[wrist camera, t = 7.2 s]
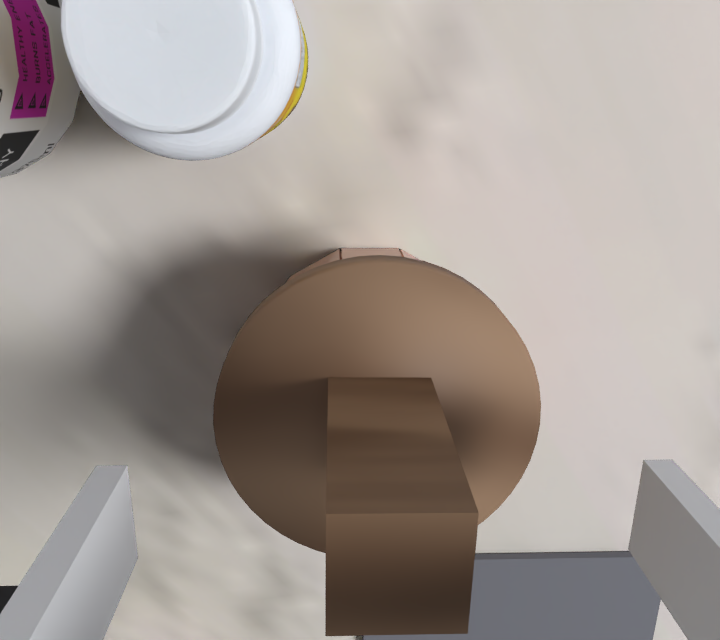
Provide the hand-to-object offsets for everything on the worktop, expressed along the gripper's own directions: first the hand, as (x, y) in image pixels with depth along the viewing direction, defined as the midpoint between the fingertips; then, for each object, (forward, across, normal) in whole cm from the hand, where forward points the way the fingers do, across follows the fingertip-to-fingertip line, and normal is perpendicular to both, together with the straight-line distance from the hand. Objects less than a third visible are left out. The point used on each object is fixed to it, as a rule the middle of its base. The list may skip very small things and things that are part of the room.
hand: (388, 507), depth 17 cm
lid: (+5, 0, 0) cm, 6 cm away
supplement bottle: (+11, +5, -11) cm, 16 cm away
